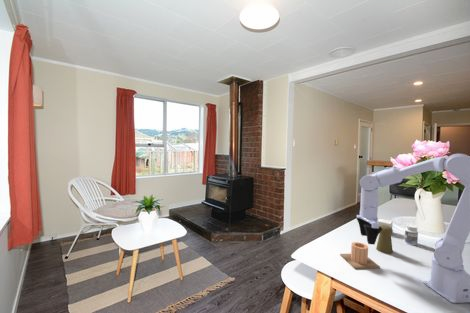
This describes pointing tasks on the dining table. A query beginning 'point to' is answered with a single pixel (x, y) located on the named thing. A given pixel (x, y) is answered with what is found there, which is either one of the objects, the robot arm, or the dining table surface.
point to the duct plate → (355, 265)
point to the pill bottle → (411, 234)
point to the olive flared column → (385, 240)
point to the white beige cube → (385, 222)
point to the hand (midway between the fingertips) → (367, 239)
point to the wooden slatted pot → (359, 252)
